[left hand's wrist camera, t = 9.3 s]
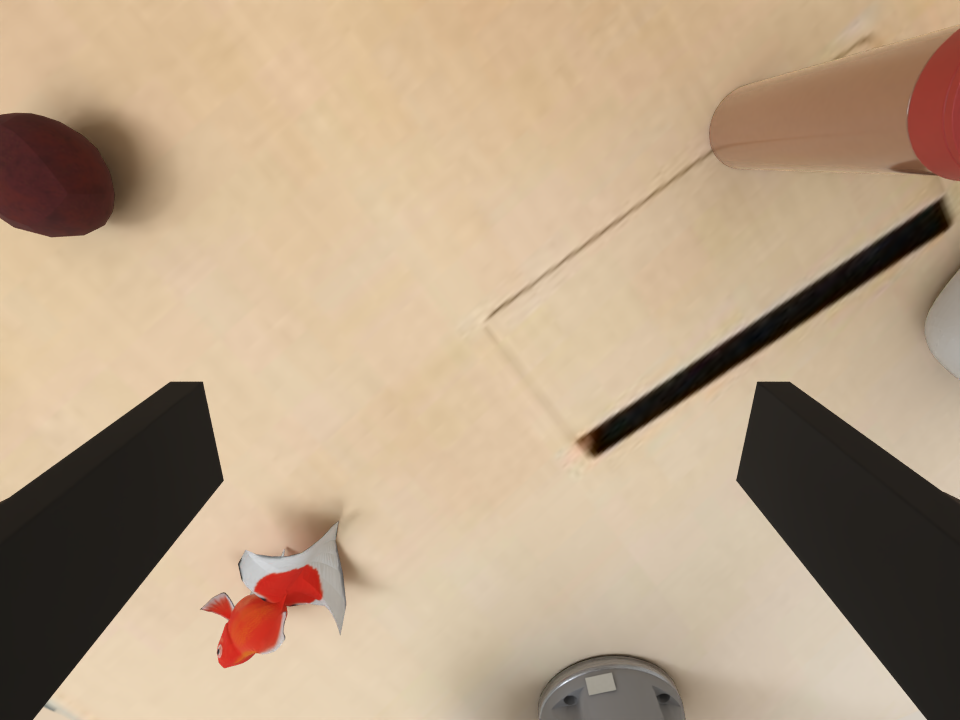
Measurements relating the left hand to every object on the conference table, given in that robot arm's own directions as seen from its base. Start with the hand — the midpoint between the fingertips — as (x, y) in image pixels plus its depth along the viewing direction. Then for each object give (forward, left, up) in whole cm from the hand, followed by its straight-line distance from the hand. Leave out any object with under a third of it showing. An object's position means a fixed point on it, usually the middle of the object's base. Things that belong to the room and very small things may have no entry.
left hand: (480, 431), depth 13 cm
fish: (-29, +19, -28) cm, 44 cm away
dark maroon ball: (+6, +28, -28) cm, 40 cm away
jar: (+8, -19, -28) cm, 35 cm away
